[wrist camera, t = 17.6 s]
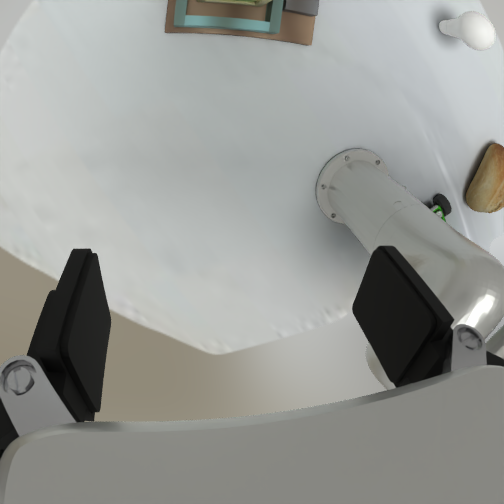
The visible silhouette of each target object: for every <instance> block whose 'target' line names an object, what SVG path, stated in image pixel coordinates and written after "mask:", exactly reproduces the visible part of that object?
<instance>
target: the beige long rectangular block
mask: <svg viewBox="0 0 504 504" xmlns="http://www.w3.org/2000/svg"><path fill="white" fill-rule="evenodd" d="M196 1H197V2H208V3H224V4H237V5H247V6H256V7H262V6H263V5H265V4H267V3H268V2H270V1H272V0H196Z"/></svg>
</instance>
